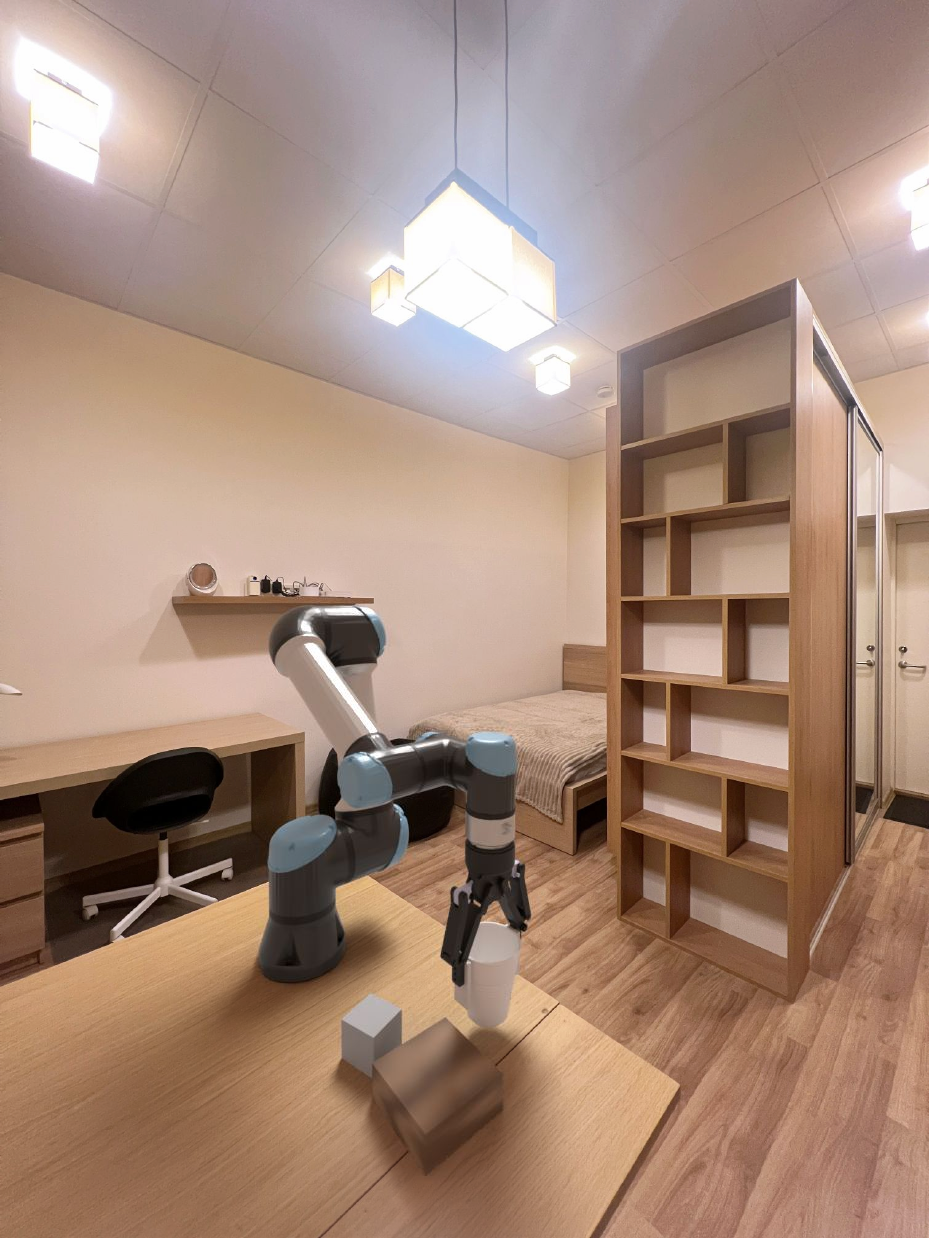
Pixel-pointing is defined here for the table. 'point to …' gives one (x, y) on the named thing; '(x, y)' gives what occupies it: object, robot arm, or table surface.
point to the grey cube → (370, 1032)
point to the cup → (492, 973)
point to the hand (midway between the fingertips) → (487, 985)
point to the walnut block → (437, 1092)
